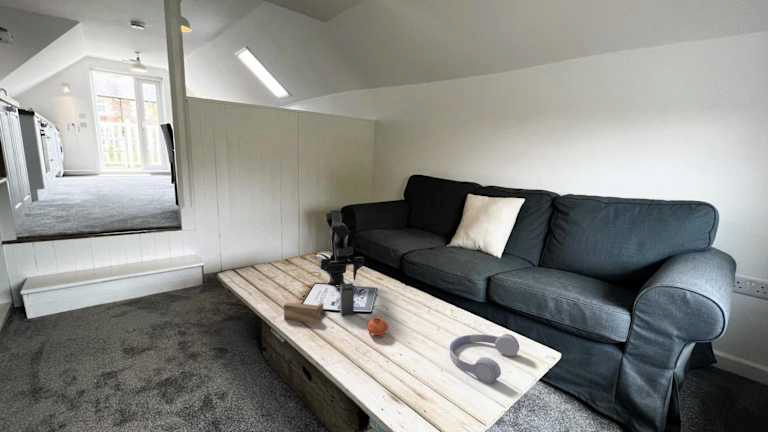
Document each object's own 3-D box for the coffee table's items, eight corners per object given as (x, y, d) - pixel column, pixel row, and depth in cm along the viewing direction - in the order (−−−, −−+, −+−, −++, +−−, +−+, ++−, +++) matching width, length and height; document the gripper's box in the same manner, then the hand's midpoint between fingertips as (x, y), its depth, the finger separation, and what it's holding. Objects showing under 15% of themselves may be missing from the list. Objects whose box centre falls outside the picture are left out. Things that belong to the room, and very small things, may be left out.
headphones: (521, 355, 117) (467, 338, 129) (522, 336, 116) (467, 320, 128) (496, 388, 100) (437, 365, 112) (497, 366, 99) (436, 345, 111)
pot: (393, 333, 128) (391, 319, 126) (378, 345, 123) (375, 330, 121) (379, 325, 134) (377, 310, 131) (364, 335, 129) (361, 321, 127)
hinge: (340, 271, 195) (334, 256, 191) (333, 275, 193) (327, 260, 189) (325, 263, 208) (320, 249, 204) (319, 267, 206) (313, 253, 202)
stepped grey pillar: (340, 311, 145) (340, 283, 143) (351, 310, 147) (352, 283, 144) (341, 317, 140) (342, 288, 138) (354, 316, 142) (354, 287, 139)
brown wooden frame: (296, 307, 148) (296, 294, 147) (327, 311, 146) (327, 297, 144) (284, 319, 138) (283, 305, 137) (316, 323, 135) (316, 309, 134)
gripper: (320, 241, 147) (323, 274, 138) (363, 239, 152) (368, 271, 143) (319, 253, 156) (321, 285, 147) (359, 251, 160) (364, 282, 152)
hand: (344, 280), depth 147 cm, fingers open, 9 cm apart
